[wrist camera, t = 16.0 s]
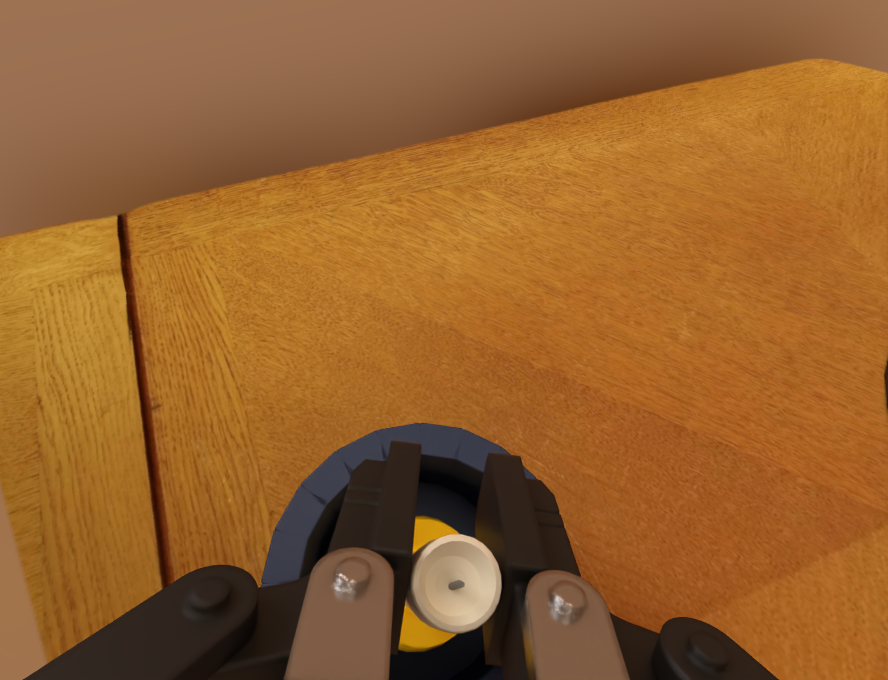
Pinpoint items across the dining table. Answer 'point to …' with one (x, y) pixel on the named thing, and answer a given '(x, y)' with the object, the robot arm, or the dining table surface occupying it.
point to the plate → (887, 379)
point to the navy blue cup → (439, 496)
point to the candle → (447, 586)
